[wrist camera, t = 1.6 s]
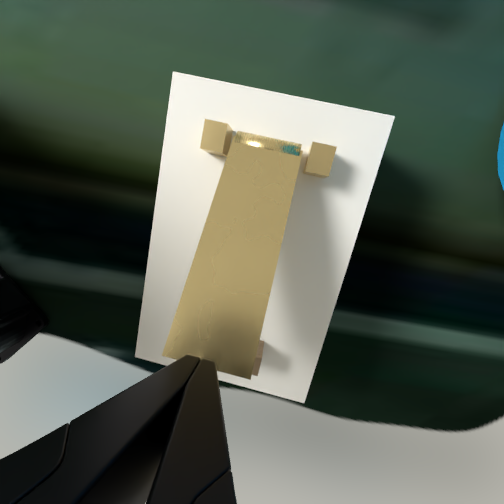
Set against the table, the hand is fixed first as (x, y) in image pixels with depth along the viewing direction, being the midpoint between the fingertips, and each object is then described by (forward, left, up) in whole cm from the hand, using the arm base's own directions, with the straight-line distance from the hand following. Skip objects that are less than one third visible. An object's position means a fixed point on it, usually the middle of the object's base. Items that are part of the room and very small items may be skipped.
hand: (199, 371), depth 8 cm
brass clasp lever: (+2, +2, -4) cm, 5 cm away
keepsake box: (+2, +1, -12) cm, 12 cm away
